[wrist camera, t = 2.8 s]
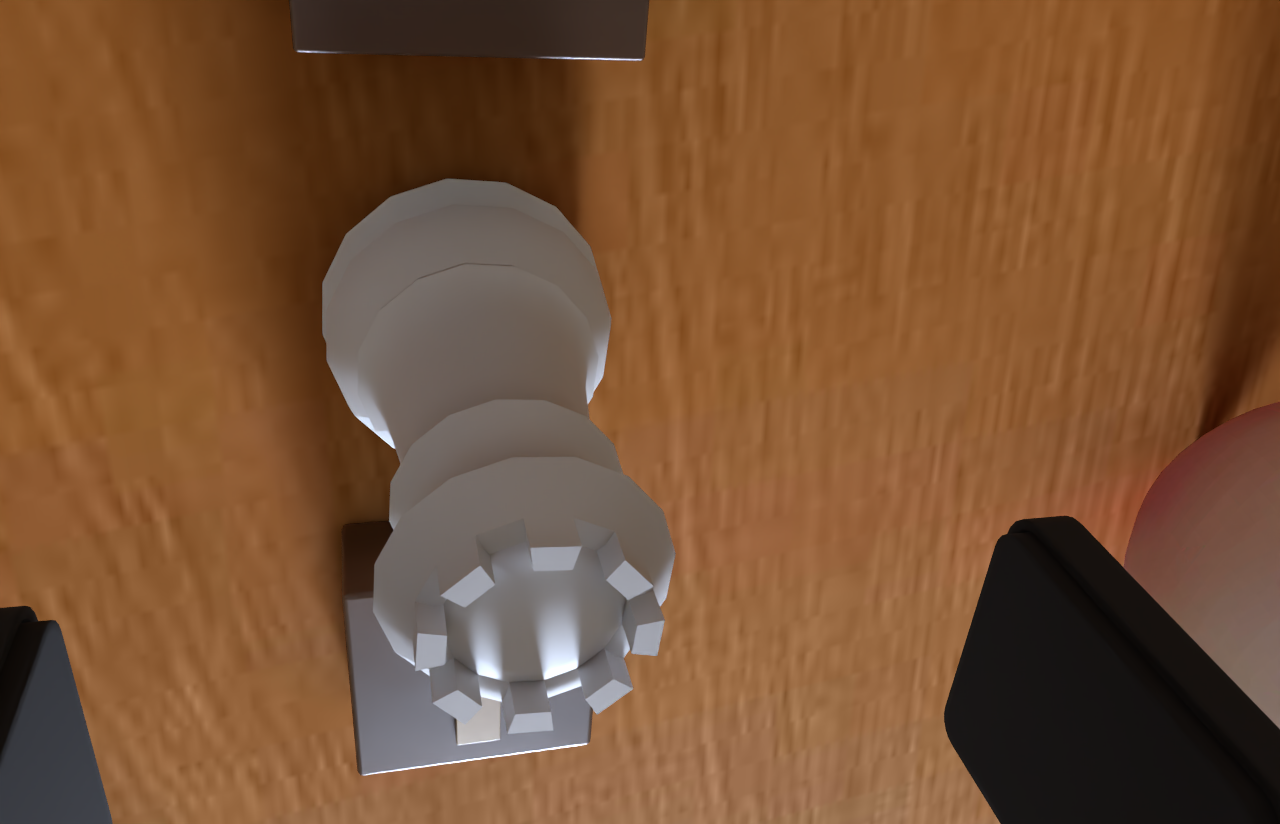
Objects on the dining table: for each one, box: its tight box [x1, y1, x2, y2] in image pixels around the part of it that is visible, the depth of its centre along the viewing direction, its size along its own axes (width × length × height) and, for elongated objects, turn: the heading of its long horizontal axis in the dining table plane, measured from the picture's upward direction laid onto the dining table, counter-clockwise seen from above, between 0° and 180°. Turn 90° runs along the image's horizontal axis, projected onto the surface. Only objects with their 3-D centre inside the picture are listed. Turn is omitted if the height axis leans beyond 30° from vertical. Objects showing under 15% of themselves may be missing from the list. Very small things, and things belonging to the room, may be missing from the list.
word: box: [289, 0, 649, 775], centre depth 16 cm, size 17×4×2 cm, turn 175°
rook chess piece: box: [322, 179, 675, 734], centre depth 14 cm, size 4×4×8 cm
